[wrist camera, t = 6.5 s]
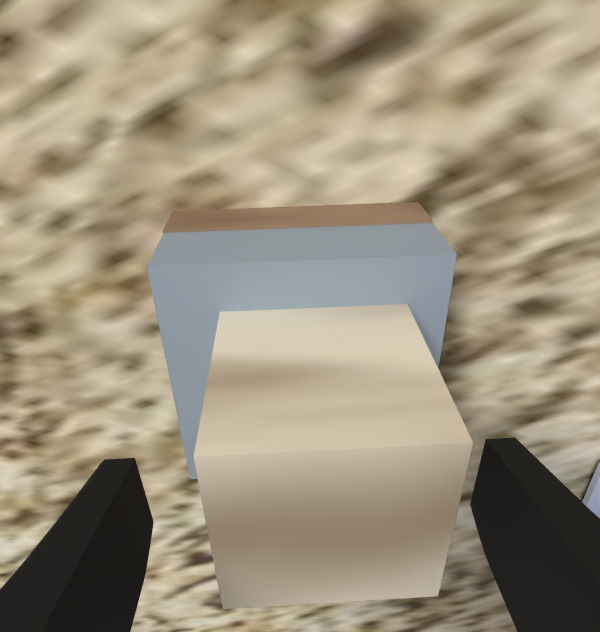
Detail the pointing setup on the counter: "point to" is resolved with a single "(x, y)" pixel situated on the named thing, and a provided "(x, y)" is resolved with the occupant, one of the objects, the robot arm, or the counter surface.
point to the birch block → (327, 457)
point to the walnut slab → (297, 217)
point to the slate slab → (287, 288)
